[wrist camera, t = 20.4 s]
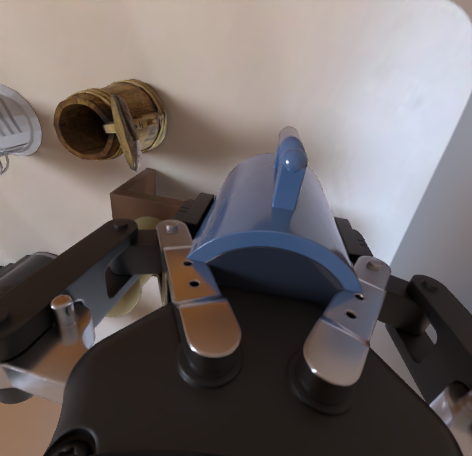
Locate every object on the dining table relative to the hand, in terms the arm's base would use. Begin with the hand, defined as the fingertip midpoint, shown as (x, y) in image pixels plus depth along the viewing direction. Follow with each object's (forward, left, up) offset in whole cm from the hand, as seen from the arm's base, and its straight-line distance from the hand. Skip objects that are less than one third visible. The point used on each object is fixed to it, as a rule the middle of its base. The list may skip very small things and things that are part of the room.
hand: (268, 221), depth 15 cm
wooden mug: (-17, 0, -23) cm, 29 cm away
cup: (0, 0, -2) cm, 2 cm away
